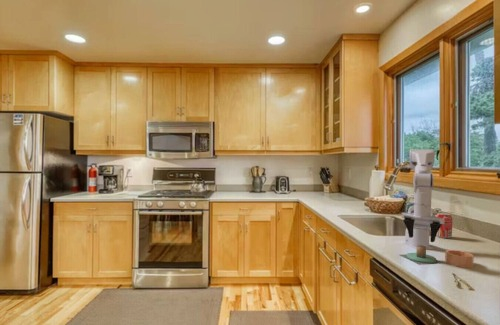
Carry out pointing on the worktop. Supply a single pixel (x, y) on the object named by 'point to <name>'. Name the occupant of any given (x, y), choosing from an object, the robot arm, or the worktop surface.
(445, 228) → the soda can
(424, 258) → the lid
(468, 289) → the tongs
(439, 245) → the worktop surface
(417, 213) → the robot arm
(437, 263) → the mat
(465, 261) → the bowl
